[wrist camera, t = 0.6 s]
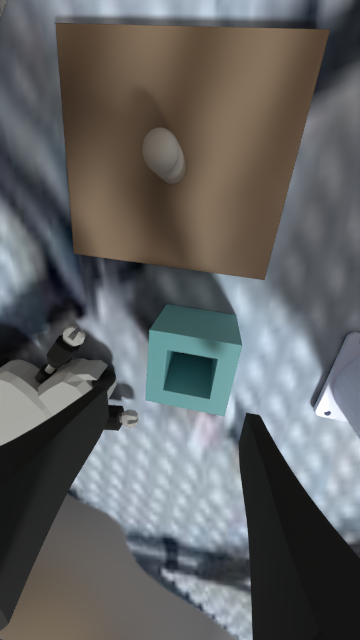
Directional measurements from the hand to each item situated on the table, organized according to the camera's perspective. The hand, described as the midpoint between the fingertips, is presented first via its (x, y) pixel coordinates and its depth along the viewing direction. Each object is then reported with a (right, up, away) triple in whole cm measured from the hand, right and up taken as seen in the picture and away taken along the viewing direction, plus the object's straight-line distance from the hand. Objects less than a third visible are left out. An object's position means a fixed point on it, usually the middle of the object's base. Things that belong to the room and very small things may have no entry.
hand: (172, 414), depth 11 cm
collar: (+2, +3, +8) cm, 8 cm away
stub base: (0, +15, +3) cm, 15 cm away
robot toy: (-12, -2, +12) cm, 17 cm away
